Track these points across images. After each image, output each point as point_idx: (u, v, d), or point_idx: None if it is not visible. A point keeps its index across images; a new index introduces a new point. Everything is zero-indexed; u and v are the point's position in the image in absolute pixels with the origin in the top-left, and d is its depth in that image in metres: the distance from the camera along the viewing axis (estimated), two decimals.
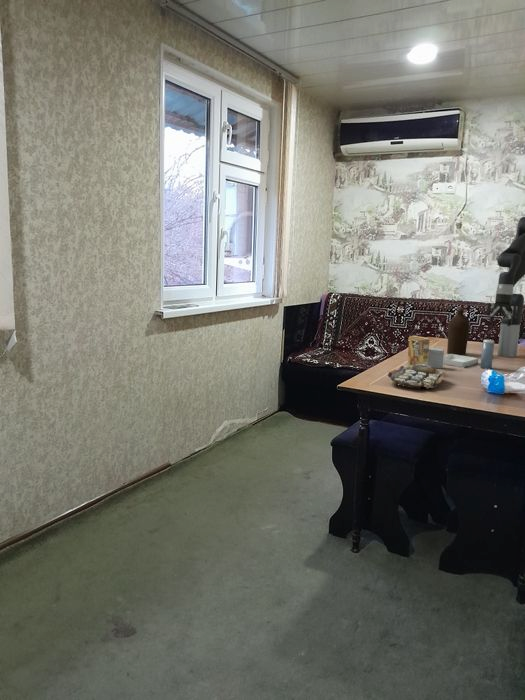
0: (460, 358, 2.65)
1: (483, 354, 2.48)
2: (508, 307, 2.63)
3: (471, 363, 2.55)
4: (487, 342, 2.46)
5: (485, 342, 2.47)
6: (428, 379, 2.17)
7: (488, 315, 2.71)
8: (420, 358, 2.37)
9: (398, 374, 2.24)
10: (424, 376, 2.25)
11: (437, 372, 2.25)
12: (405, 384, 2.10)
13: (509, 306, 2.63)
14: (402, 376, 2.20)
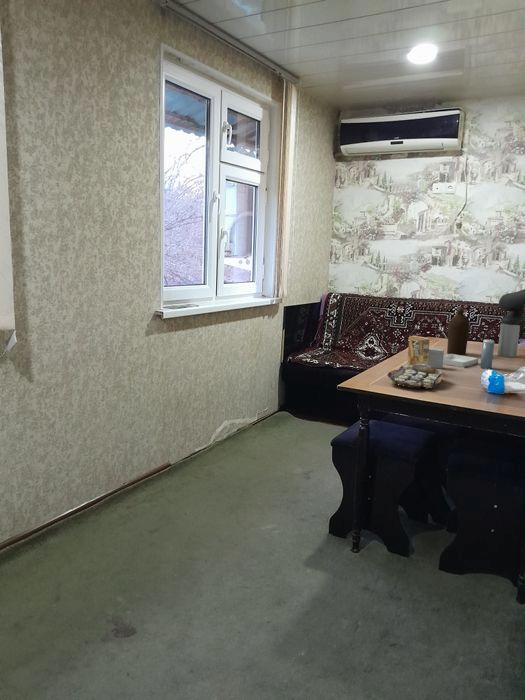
0: (460, 358, 2.65)
1: (483, 354, 2.48)
2: None
3: (471, 363, 2.55)
4: (487, 342, 2.46)
5: (485, 342, 2.47)
6: (428, 379, 2.17)
7: None
8: (420, 358, 2.37)
9: (398, 374, 2.24)
10: (424, 376, 2.25)
11: (437, 372, 2.25)
12: (405, 384, 2.10)
13: None
14: (402, 376, 2.20)
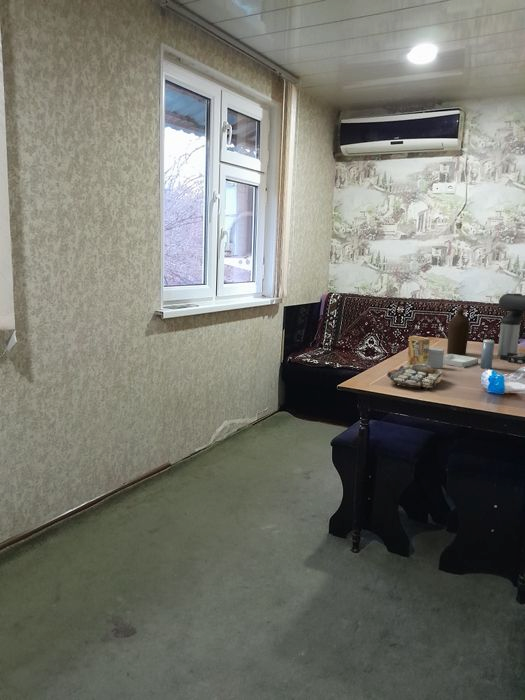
0: (460, 358, 2.65)
1: (483, 354, 2.48)
2: None
3: (471, 363, 2.55)
4: (487, 342, 2.46)
5: (485, 342, 2.47)
6: None
7: (508, 360, 2.37)
8: (420, 358, 2.37)
9: (398, 374, 2.24)
10: (424, 376, 2.25)
11: (437, 372, 2.25)
12: (404, 384, 2.11)
13: None
14: (401, 376, 2.21)
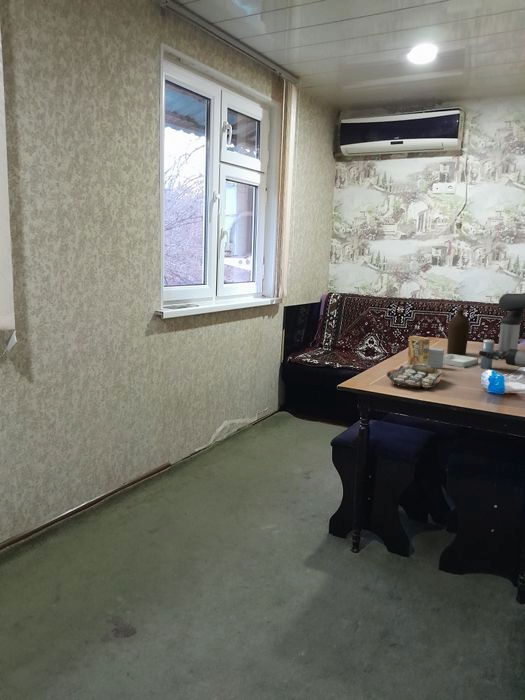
0: (460, 358, 2.65)
1: None
2: None
3: (471, 363, 2.55)
4: (487, 342, 2.46)
5: (485, 342, 2.47)
6: None
7: (486, 356, 2.45)
8: (420, 358, 2.37)
9: (397, 374, 2.24)
10: (423, 376, 2.25)
11: (436, 372, 2.25)
12: (403, 384, 2.11)
13: None
14: (401, 376, 2.21)
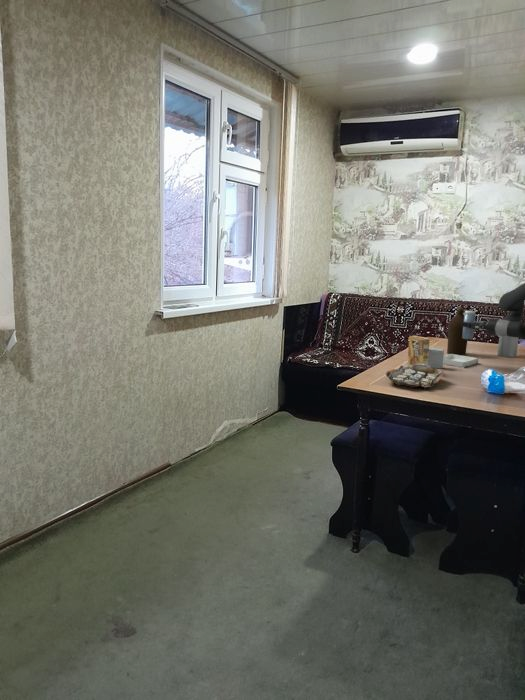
0: (460, 358, 2.65)
1: None
2: None
3: (471, 363, 2.55)
4: (468, 313, 2.50)
5: (466, 313, 2.51)
6: (426, 379, 2.18)
7: (468, 326, 2.49)
8: (420, 358, 2.37)
9: (397, 373, 2.25)
10: (423, 376, 2.25)
11: (436, 372, 2.26)
12: (403, 383, 2.11)
13: None
14: (401, 375, 2.21)
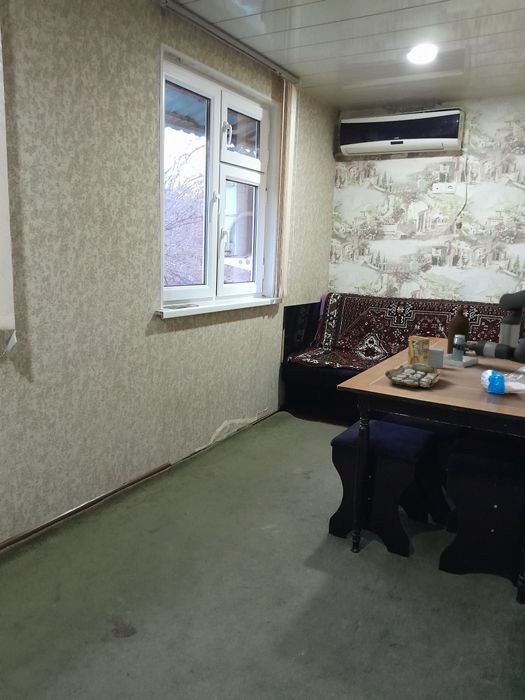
0: None
1: (454, 349, 2.57)
2: None
3: (471, 363, 2.55)
4: (458, 337, 2.55)
5: (456, 337, 2.56)
6: (426, 378, 2.18)
7: (457, 348, 2.52)
8: (420, 358, 2.37)
9: (396, 373, 2.25)
10: (423, 375, 2.25)
11: (436, 372, 2.26)
12: (402, 383, 2.12)
13: None
14: (400, 375, 2.21)
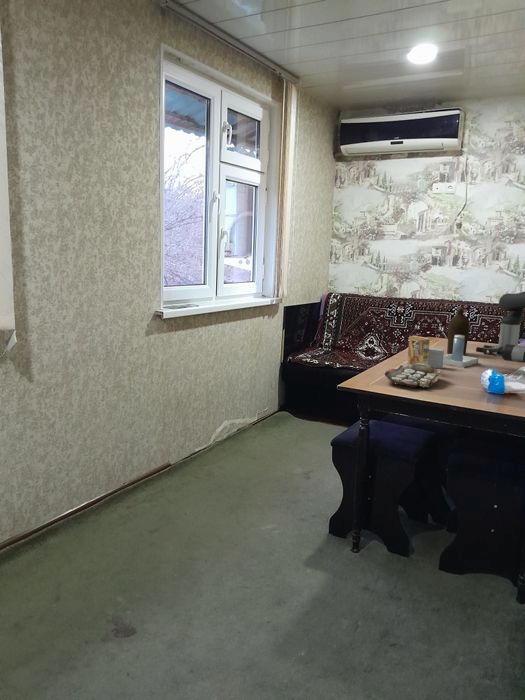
0: None
1: (454, 349, 2.57)
2: None
3: (471, 363, 2.55)
4: (458, 337, 2.55)
5: (456, 337, 2.56)
6: (425, 378, 2.18)
7: (483, 352, 2.43)
8: (420, 358, 2.37)
9: (396, 373, 2.25)
10: (422, 375, 2.26)
11: (436, 371, 2.26)
12: (401, 383, 2.12)
13: None
14: (400, 375, 2.22)
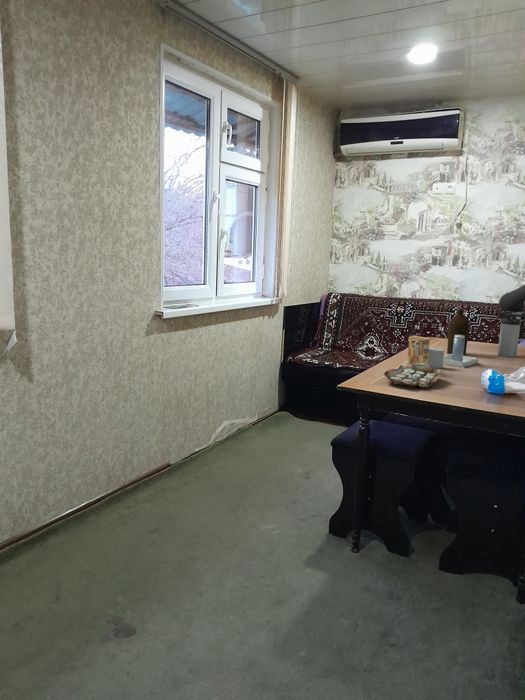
0: None
1: (454, 349, 2.57)
2: None
3: (471, 363, 2.55)
4: (458, 337, 2.55)
5: (456, 337, 2.56)
6: (425, 378, 2.18)
7: (506, 318, 2.34)
8: (420, 358, 2.37)
9: (396, 373, 2.26)
10: (422, 375, 2.26)
11: (435, 371, 2.26)
12: (400, 383, 2.12)
13: None
14: (399, 375, 2.22)
